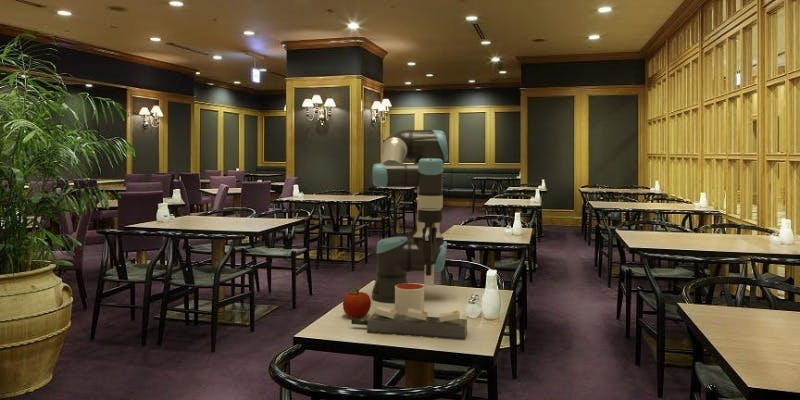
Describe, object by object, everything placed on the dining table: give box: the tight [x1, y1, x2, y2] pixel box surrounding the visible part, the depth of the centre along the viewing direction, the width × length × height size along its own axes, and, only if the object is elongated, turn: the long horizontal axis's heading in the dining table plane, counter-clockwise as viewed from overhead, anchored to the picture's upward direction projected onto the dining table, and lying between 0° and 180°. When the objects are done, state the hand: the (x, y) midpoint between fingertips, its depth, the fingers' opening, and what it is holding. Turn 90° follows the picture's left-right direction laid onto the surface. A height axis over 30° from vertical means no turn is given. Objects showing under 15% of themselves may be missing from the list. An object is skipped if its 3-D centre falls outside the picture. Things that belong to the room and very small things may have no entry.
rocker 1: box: [374, 305, 397, 319], centre depth 183 cm, size 4×6×2 cm, turn 79°
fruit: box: [342, 287, 372, 319], centre depth 198 cm, size 10×10×10 cm
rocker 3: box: [438, 310, 461, 322], centre depth 179 cm, size 4×6×2 cm, turn 79°
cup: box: [394, 282, 425, 315], centre depth 201 cm, size 10×10×10 cm
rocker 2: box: [407, 308, 429, 321], centre depth 181 cm, size 4×6×2 cm, turn 79°
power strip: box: [351, 312, 468, 341], centre depth 182 cm, size 8×36×4 cm, turn 79°
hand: (428, 285), depth 180 cm, fingers closed
